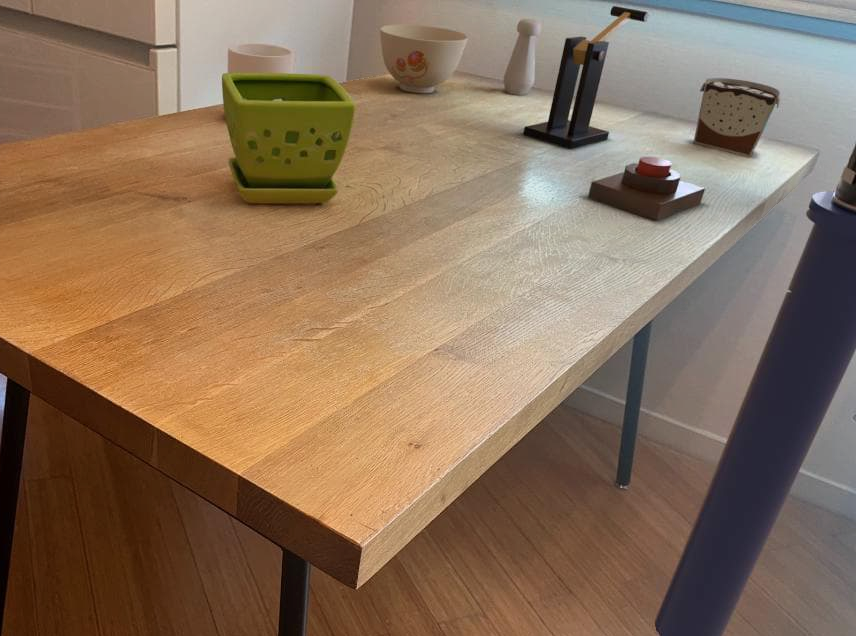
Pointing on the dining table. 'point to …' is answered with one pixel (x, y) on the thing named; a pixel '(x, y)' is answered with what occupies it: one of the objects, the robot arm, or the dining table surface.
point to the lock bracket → (578, 128)
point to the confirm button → (654, 166)
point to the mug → (260, 59)
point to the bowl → (421, 55)
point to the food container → (734, 114)
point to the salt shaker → (522, 59)
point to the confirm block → (646, 193)
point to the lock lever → (609, 29)
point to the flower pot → (286, 135)
